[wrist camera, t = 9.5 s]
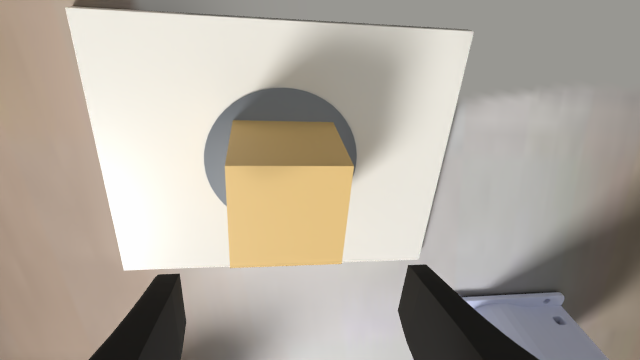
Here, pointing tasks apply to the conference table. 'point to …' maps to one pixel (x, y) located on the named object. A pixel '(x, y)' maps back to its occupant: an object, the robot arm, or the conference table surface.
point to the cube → (286, 193)
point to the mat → (261, 105)
